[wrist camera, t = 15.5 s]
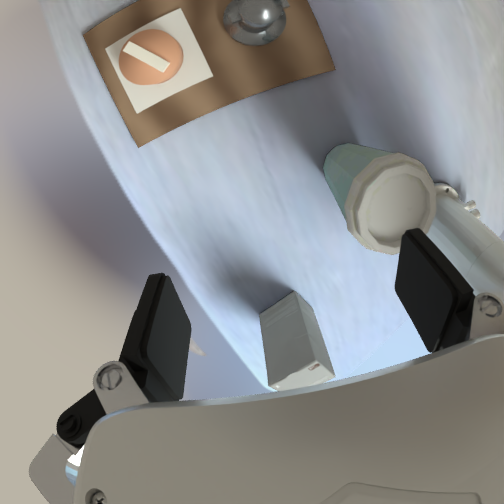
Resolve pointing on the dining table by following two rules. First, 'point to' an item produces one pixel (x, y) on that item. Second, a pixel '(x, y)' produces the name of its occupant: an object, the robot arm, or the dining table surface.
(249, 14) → the round metal knob
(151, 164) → the dining table surface
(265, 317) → the skincare box
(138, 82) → the cap
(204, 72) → the pad
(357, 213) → the disposable coffee cup
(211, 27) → the board
